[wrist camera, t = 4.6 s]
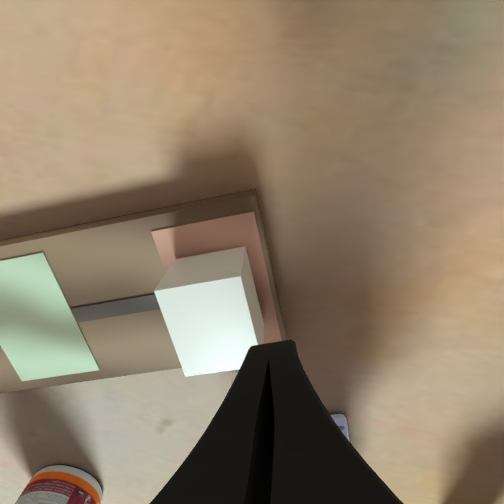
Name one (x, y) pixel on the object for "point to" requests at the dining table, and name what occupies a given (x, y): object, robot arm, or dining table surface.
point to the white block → (211, 310)
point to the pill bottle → (61, 487)
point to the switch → (115, 290)
